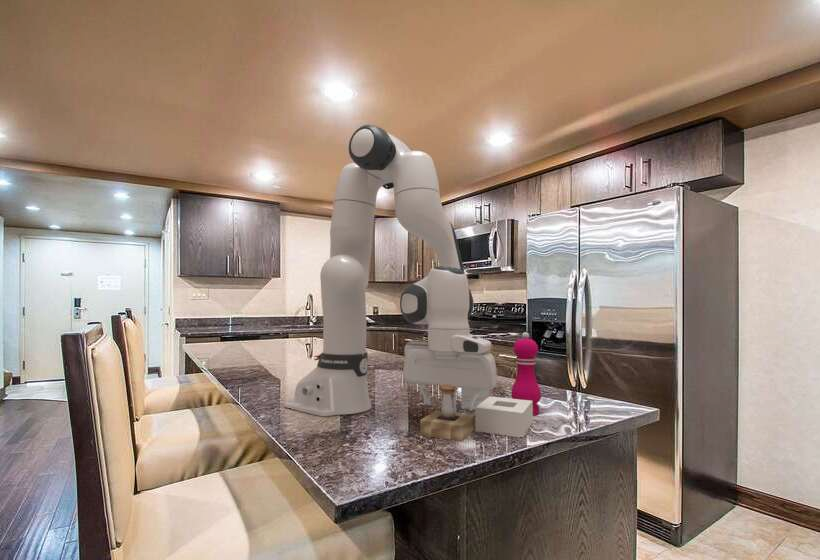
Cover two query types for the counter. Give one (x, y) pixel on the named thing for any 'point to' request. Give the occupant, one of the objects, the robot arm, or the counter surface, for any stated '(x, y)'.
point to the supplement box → (466, 395)
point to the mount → (447, 426)
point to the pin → (447, 402)
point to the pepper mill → (526, 372)
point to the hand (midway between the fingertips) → (448, 407)
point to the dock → (504, 416)
